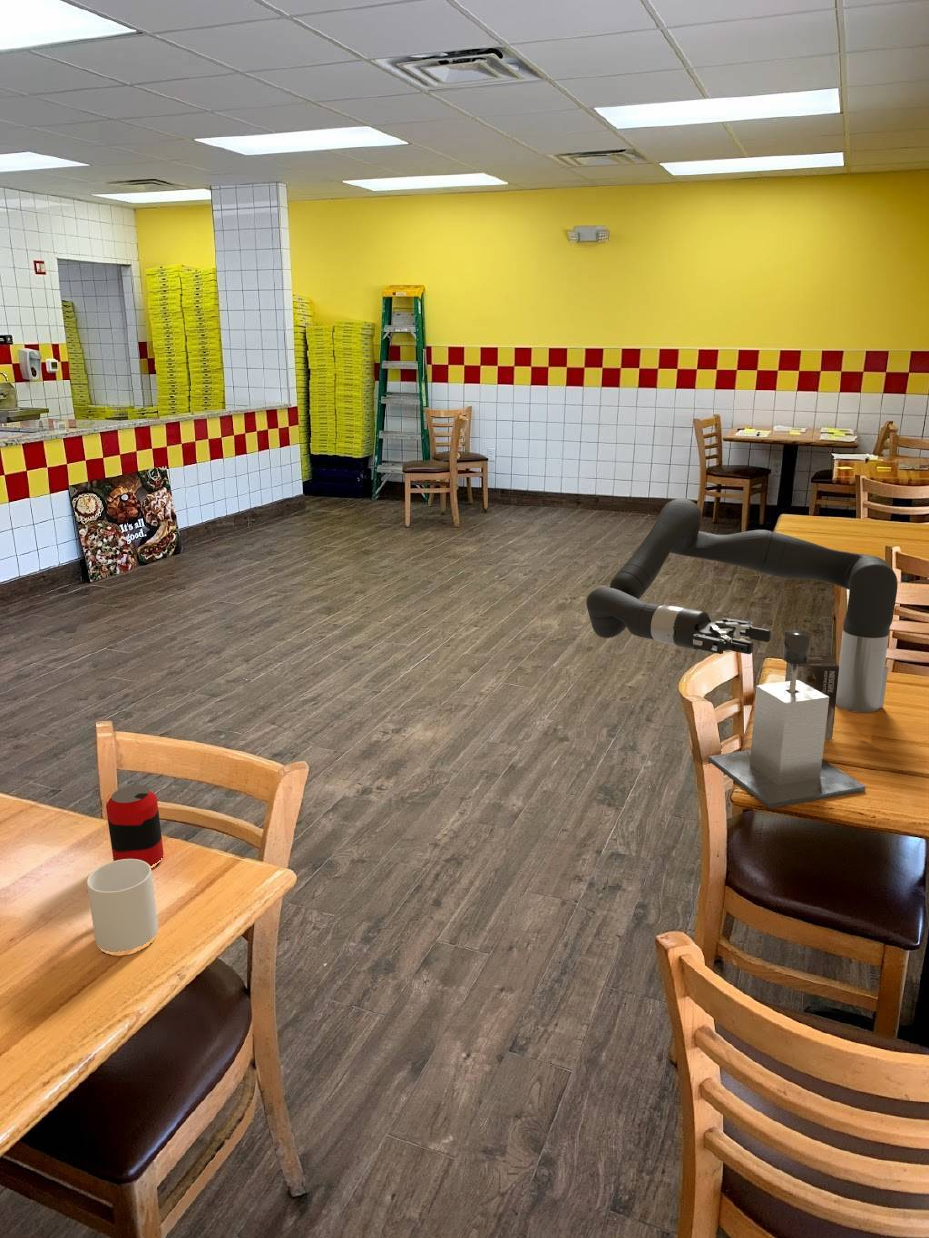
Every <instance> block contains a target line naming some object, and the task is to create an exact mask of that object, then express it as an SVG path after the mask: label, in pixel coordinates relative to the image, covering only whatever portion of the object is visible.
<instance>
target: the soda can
mask: <svg viewBox="0 0 929 1238" xmlns="http://www.w3.org/2000/svg"><path fill="white" fill-rule="evenodd" d="M105 809H106V817H107V824H108V825H107V826H108V831H109V838H110V839H109V840H110V846H111V852H112V853H111V854H112V862H113V861H117V860H122V859H137V860H142V861H144V862H146V863H148V864H149V865H150V866H152V865H153V864H155V863H157V862H158V861H159V860H161V858H163V859H164V857H163V855H164V856H165V853H164V846H163V837H162V836H163V835H162V829H161V821H160V811H159V805H158V796H157V794H155V793H154V792H153V791H151V790H150V789H149V787H146V786H144V785H130V786H129V785H127V786H124V787H122V788H120V789H119V788H118V789H117V790H116V791H114V792H113V793H112V794H111V796H110V798H109V799H108V801H107V802H106V804H105Z"/></svg>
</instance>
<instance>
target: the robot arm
mask: <svg viewBox="0 0 929 1238" xmlns="http://www.w3.org/2000/svg"><path fill="white" fill-rule="evenodd" d="M702 519H703V514H702V510H701V509H700V507H699V505H698V504H697V503H696V502H694V501H692V500H689V499H686V498H675V499H671V500H669V501H668V502H666V503H665V505H663V507H662V509H661V511H660V512H659V515H658V517H657V518H656V520H655V523H654V524H653V526H652V528H651V529H650V531H649V532H648V534H647V535H646V536H645V538H644V540H643V541H642V542H641V544H640V545H639V546H638V548H637V549H636V550H635V551H634V552H633V554H632V555H631V557H629V559H628V560H627V561H626V562H625V564H623V565H622V567H621V568H620V569H619V571H618V572H617V573H616V574H615V575H614V576H613V578H612V579H611V581H610V583H609V587H605V586H604V587H599V588H595V589H594V590H592V591H591V592H590V593H589V594H588V595H587V597H586V600H585V601H586V602H585V603H586V608H587V613H588V615H589V620H590V623H591V627H592V629H593V632H594V633H595V635H597V636H598V637H600V638H603V639H611V638H615V637H616V636H618V635H620V634H621V633H622V632H623V631H624V630H625V629H626V628H627V630H628V631H629V633H631V635H633V636H636V637H639V638H645V639H647V640H649V639H650V640H654V641H657V642H661V643H663V644H665V645H671V646H676V647H681V648H685V649H691V650H695V651H698V650H701V651H704V652H705V651H706V652H709V653H714V654H718V655H722V654H724V652H725V653H730V652H734V653H735V652H736V653H739V654H746V655H752V653H753V652H754V643H753V642H752V641H750V640H753V641H754V640H755V641H759V642H765V643H768V642H770V641H771V640H772V630H770V629H766V628H761V627H754V626H753V624H754V622H752V621H747V620H743V619H741V620H740V619H734V618H729V617H722V619H721V620H716V621H715V622H713V621H712V620H711V618H710V616H709V614H708V613H707V612H706V611H704V610H699V609H692V608H687V607H681V606H676V605H663V604H657V603H653V602H652V603H651V602H645V601H643V600H642V599H641V598H642V596H643V595H644V594H645V593H646V592H647V590H648V589H649V588H650V587H651V586H652V584H653V582H655V580H656V578H657V576H658V575H659V573H660V571H661V569H662V567H663V566H664V563H665V562H666V560H667V558H668V557H669V555H670V554H675V555H679V556H684V557H691V558H698V559H704V560H708V561H709V560H710V561H715V562H720V563H723V564H727V565H732V566H736V567H741V568H744V569H748V570H751V571H754V572H758V573H761V574H765V575H770V576H773V577H777V578H781V579H791V580H792V579H794V580H813V581H814V580H815V581H821V582H825V583H829V584H832V585H835V586H838V587H841V588H843V589H846V590H848V602H847V606H846V607H847V608H846V614H845V616H844V618H843V624H842V625H843V627H842V634H841V635H842V636H841V644H840V652H839V653H840V654H839V662H838V665H839V676H838V686H837V696H836V706H837V707H838V708H840V709H842V710H845V711H848V712H849V711H850V712H854V713H863V714H865V713H868V714H869V713H874V712H877V711H878V710H879V709H881V708H884V706H885V705H884V704H885V703H884V702H885V696H886V689H887V681H888V672H889V667H888V665H886V659H887V651H888V643H889V635H890V630H891V625H892V624H893V620H894V614H895V608H896V600H897V594H898V578H897V574H896V572H895V571H894V569H893V568H892V567H891V565H890V563H888V562H887V561H886V560H885V559H883V558H881V557H879V556H876V555H870V554H863V553H855V552H848V551H843V550H838V549H837V550H836V549H833V548H828V547H826V546H822V545H820V544H817V543H813V542H810V541H807V540H806V539H805V540H804V539H801V538H797V537H794V536H791V535H786V534H784V533H779V532H776V531H772V530H767V529H754V530H753V529H752V530H747V531H742V532H737V533H732V534H714V533H711V532H705V531H701V530H700V529H701V526H702V521H703V520H702ZM744 639H745V640H744ZM748 639H750V640H748Z"/></svg>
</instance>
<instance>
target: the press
mask: <svg viewBox="0 0 929 1238" xmlns="http://www.w3.org/2000/svg"><path fill="white" fill-rule="evenodd" d="M789 690H790V681H787V682H785V681H779V682H773V683H766V684H765V683H764V684H759V685H758V684H757V685H756V689H755V698H754V699H755V700H754V709H753V712H754V713H753V721H752V734H751V744H750V749H747V750H741V751H733V752H727V753H720V754H713V755H709V756H708V760H707V761H708V762H709V763H710V764H712V765H713V766H714V767H715V768H717V769H718V770H719V771H721V772H722V773H723V774H724V775H726V776H727V777H728V778H729V779H731V780H733V782H735V783H736V784H737V785H738V786H740V787H741V788H743V789H744V790H745V791H747V792H748V793H749V794H750V795H752V797H754V798H756V799H757V800H758V801H760V802H761V803H762V804H763V805H764V806H766V807H767V808H768V809H776V808H780V807H786V806H793V805H797V804H804V803H809V802H815V801H819V800H820V801H821V800H824V799H832V798H837V797H842V796H849V795H854V794H858V793H865V792H866V787H867V786H866V785H864V784H863V783H861V782H859V781H858V780H856V779H855V778H853V777H852V776H850V775H848V774H847V773H845V772H844V771H842V770H841V769H839V768H838V767H837V766H834V764H832V763H830V762H828V761H827V760H825V759H823V756H824V749H825V746H824V745H825V741H826V739H825V731H826V722H827V713H828V704H829V696H827V695H825V694H823V693H821V692H819V691H817V690H816V689H814V688H812V687H810V686H808V685H806V684H804V683H803V682H801V681H799V680H796V688H795V693H793V694H791V693H789Z"/></svg>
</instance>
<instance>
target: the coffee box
mask: <svg viewBox="0 0 929 1238" xmlns="http://www.w3.org/2000/svg"><path fill="white" fill-rule="evenodd" d="M791 669H792V663H788V662H786V665H785V676H784V677H785V679H784V682H787V681H790V679H791ZM838 676H839V663H837V661H836V660H835V659H834V657H832V655H809V660H808V662H807V663H804V664H798V668H797V678H796V680H799V681H801V682H803V683H804V684H806V685H808V686H810V687H812V688H814V689H816V690H817V691H819V692H821V693H823V694H825V695H827V696H829V704H828V713H827V722H826V731H825V740H833V734H834V727H835V725H834V724H835V717H836V716H835V714H836V706H837V705H836V696H837V686H838Z"/></svg>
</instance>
